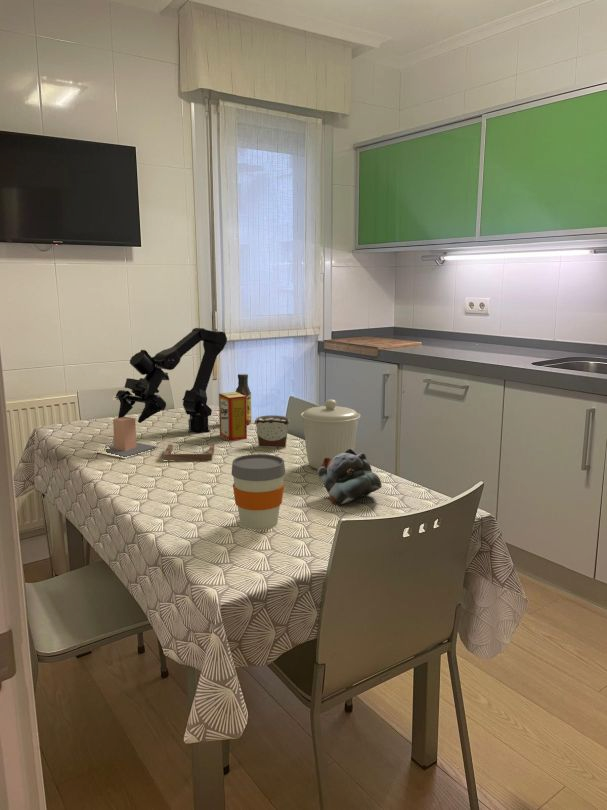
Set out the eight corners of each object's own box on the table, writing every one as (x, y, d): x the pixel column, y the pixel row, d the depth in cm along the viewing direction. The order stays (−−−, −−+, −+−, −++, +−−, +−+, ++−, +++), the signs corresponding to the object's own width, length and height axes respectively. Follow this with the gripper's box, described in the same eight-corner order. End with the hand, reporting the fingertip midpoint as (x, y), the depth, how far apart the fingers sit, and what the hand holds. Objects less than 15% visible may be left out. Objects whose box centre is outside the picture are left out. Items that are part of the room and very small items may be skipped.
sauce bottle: (250, 425, 244) (250, 375, 240) (234, 425, 244) (233, 375, 240) (252, 421, 250) (251, 373, 246) (236, 421, 250) (236, 372, 246)
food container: (292, 443, 217) (292, 415, 215) (290, 447, 211) (290, 419, 209) (257, 442, 219) (257, 414, 217) (254, 446, 213) (254, 418, 211)
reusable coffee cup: (285, 512, 153) (285, 453, 150) (285, 532, 141) (285, 469, 138) (234, 512, 153) (233, 453, 150) (230, 532, 140) (229, 469, 137)
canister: (355, 477, 180) (357, 406, 176) (294, 473, 183) (294, 404, 179) (362, 460, 197) (363, 395, 193) (306, 456, 201) (307, 393, 197)
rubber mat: (126, 443, 216) (126, 440, 216) (156, 449, 209) (156, 446, 208) (94, 452, 204) (94, 449, 204) (124, 459, 197) (124, 456, 197)
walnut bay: (168, 450, 207) (168, 444, 207) (214, 449, 208) (214, 444, 208) (163, 461, 195) (162, 455, 195) (211, 460, 196) (211, 454, 196)
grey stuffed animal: (330, 509, 155) (313, 456, 158) (328, 510, 167) (313, 461, 169) (386, 490, 156) (368, 438, 158) (381, 493, 168) (364, 445, 170)
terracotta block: (126, 445, 209) (124, 416, 207) (136, 447, 207) (135, 418, 205) (114, 448, 205) (112, 419, 203) (125, 450, 203) (123, 421, 201)
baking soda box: (246, 438, 223) (246, 395, 220) (230, 440, 220) (229, 396, 217) (236, 433, 231) (235, 391, 228) (219, 435, 228) (218, 392, 225)
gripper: (118, 366, 212) (94, 404, 205) (158, 371, 202) (135, 410, 195) (136, 385, 220) (114, 422, 213) (176, 390, 211) (154, 429, 204)
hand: (128, 420), depth 206 cm, fingers open, 9 cm apart
